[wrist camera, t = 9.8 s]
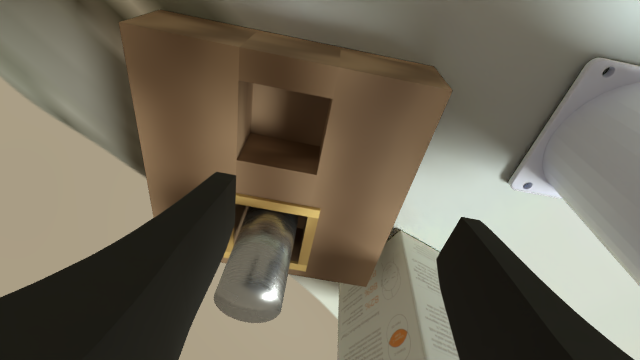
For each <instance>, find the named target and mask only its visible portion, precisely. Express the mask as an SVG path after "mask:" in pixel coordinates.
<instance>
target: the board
mask: <svg viewBox="0 0 640 360" xmlns="http://www.w3.org/2000/svg"><path fill="white" fill-rule="evenodd" d="M119 27H120V32H121V38H122V44H123V49H124V55H125V60H126V66H127V72H128V77H129V83H130V88H131V94H132V99H133V105H134V111H135V116H136V122H137V127H138V133H139V139H140V144H141V150H142V155H143V161H144V167H145V172H146V178H147V183H148V188H149V194H150V200H151V206H152V211H153V217H156V216H157V215H159V214H160V213H162V212H163V211H165V210H166V209H167V208H169V207H170V206H171V205H173V204H174V203H176V202H177V201H178V200H180V199H181V198H182V197H184V196H185V195H186V194H188V193H189V192H190V191H192V190H193V189H194V188H196V187H197V186H198V185H199V184H201V183H202V182H203V181H205V180H206V179H207V178H208V177H210V176H211V175H212V174H214V173H215V172H221V173H227V174H232V175H236V203H235V224H234V228H233V231H232V234H231V237H230V240H229V243H228V246H227V249H226V252H225V254H224V256H223V258H222V260H221V262H222V263H227V261H228V259H229V256H230V254H231V251H232V249H233V246H234V244H235V241H236V239H237V236H238V233H239V231H240V228H241V226H242V223H243V221H244V218H245V216H246V213H247V211H248V208H249V206H251V207H256V208H262V209H268V210H273V211H279V212H284V213H290V214H295V215H299V218H298V223H297V229H296V234H295V239H294V245H293V250H292V255H291V260H290V266H289V271H288V274H292V275H298V276H304V277H310V278H316V279H322V280H327V281H333V282H339V283H345V284H351V285H357V286H362V287H367V284H368V282H369V280H370V278H371V275H372V273H373V271H374V269H375V266H376V264H377V262H378V259H379V257H380V255H381V253H382V250H383V248H384V246H385V243H386V241H387V239H388V237H389V234H390V232H391V230H392V227H393V225H394V223H395V221H396V218H397V216H398V214H399V212H400V209H401V207H402V205H403V202H404V200H405V198H406V196H407V193H408V191H409V189H410V186H411V184H412V182H413V180H414V177H415V175H416V173H417V170H418V168H419V166H420V164H421V161H422V159H423V157H424V155H425V152H426V150H427V148H428V145H429V143H430V141H431V139H432V136H433V134H434V132H435V129H436V127H437V125H438V123H439V120H440V118H441V116H442V113H443V111H444V109H445V107H446V104H447V102H448V100H449V98H450V95H451V93H452V91H453V90H452V89H451V88H450V87H449V85H448V84H447V83H446V81H445V80H444V79H443V77H442V76H441V75H440V74H439V72H438V71H437V70H436V68H435V67H434V66H429V65H424V64H419V63H414V62H410V61H405V60H400V59H395V58H390V57H386V56H381V55H376V54H371V53H366V52H361V51H357V50H352V49H347V48H342V47H337V46H333V45H328V44H323V43H318V42H313V41H308V40H304V39H299V38H294V37H289V36H284V35H280V34H275V33H270V32H265V31H260V30H255V29H251V28H246V27H241V26H236V25H231V24H227V23H222V22H217V21H212V20H207V19H202V18H198V17H193V16H188V15H183V14H178V13H174V12H169V11H164V10H158V11H154V12H151V13H148V14H144V15H141V16H138V17H135V18H131V19H128V20H125V21H121V22H119Z"/></svg>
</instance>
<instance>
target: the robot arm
mask: <svg viewBox="0 0 640 360" xmlns="http://www.w3.org/2000/svg"><path fill="white" fill-rule="evenodd" d="M608 67H610V68H609V71H608V72H607V73H606V74H604V75H602V73H603V71H604V70H605V69H606V68H608ZM527 182H529V183H528V184H527V185H524V184H525V183H527ZM509 185H510V186H511V188H512V189H514V190H518V191H523V192H528V193H534V194H539V195H544V196H549V197H554V198H560V199H564V201H565V202H566V203H567V204H568V205H569V206H570V207H571V209H572V210H573V211H574V212H575V213H576V214H577V215H578V217H579V218H580V219H581V220H582V221H583V222H584V223H585V224H586V226H587V227H588V228H589V229H590V230H591V231H592V232H593V234H594V235H595V236H596V237H597V238H598V239H599V240H600V242H601V243H602V244H603V245H604V246H605V247H606V248H607V250H608V251H609V252H610V253H611V254H612V255H613V256H614V258H615V259H616V260H617V261H618V262H619V263H620V264H621V265H622V267H623V268H624V269H625V270H626V271H627V272H628V273H629V275H630V276H631V277H632V278H633V279H634V280H635V281H636V283H637V284H638V285H639V286H640V66H638V65H633V64H629V63H624V62H619V61H615V60H610V59H605V58H595V59H592V60H591V61H589V62H588V63H587V64H586V65H585V66H584V68H583V69H582V71H581V72H580V74H579V76H578V77H577V79H576V80H575V82H574V83H573V85H572V86H571V88H570V89H569V91H568V92H567V94H566V95H565V97H564V98H563V100H562V101H561V103H560V104H559V106H558V107H557V109H556V110H555V112H554V113H553V115H552V116H551V118H550V119H549V121H548V122H547V124H546V125H545V127H544V128H543V130H542V131H541V133H540V134H539V136H538V138H537V139H536V141H535V142H534V144H533V145H532V147H531V148H530V150H529V151H528V153H527V154H526V156H525V157H524V159H523V160H522V162H521V163H520V165H519V166H518V168H517V169H516V171H515V172H514V174H513V175H512V177H511V178H510V180H509ZM235 203H236V175H232V174H227V173H221V172H215V173H214V174H212V175H211V176H210V177H208V178H207V179H206V180H205V181H203V182H202V183H201V184H199V185H198V186H197V187H196V188H194V189H193V190H192V191H190V192H189V193H188V194H186V195H185V196H184V197H182V198H181V199H180V200H178V201H177V202H176V203H174V204H173V205H171V206H170V207H169V208H167V209H166V210H165V211H163V212H162V213H160V214H159V215H157V216H156V217H154V218H153V219H151V220H150V221H148V222H147V223H145V224H144V225H142V226H141V227H139V228H138V229H136V230H134V231H133V232H131V233H130V234H128V235H126V236H125V237H123V238H121V239H120V240H118V241H116V242H115V243H113V244H111V245H109V246H107V247H106V248H104V249H102V250H100V251H98V252H97V253H95V254H93V255H91V256H89V257H88V258H85V259H83V260H81V261H79V262H77V263H75V264H73V265H71V266H69V267H67V268H65V269H63V270H61V271H59V272H56V273H54V274H52V275H50V276H48V277H46V278H44V279H42V280H40V281H37V282H36V283H33V284H31V285H28V286H26V287H24V288H21V289H19V290H17V291H15V292H12V293H10V294H8V295H5V296H3V297H0V360H178V359H179V356H180V354H181V351H182V348H183V346H184V343H185V340H186V337H187V335H188V332H189V329H190V327H191V325H192V322H193V320H194V318H195V315H196V313H197V311H198V309H199V307H200V305H201V303H202V301H203V298H204V296H205V294H206V292H207V290H208V288H209V286H210V284H211V282H212V279H213V277H214V275H215V273H216V271H217V269H218V266H219V264H220V262H221V260H222V258H223V256H224V254H225V252H226V249H227V246H228V243H229V240H230V237H231V234H232V231H233V228H234V224H235ZM436 261H437V270H438V278H439V285H440V290H441V294H442V298H443V302H444V306H445V309H446V313H447V317H448V320H449V324H450V328H451V331H452V335H453V338H454V342H455V346H456V349H457V353H458V356H459V360H634V359H633V358H631V357H630V356H629V355H627V354H626V353H625V352H623V351H622V350H621V349H620V348H618V347H617V346H616V345H615V344H613V343H612V342H611V341H610V340H608V339H607V338H606V337H605V336H604V335H602V334H601V333H600V332H599V331H598V330H596V329H595V328H594V327H593V326H591V325H590V324H589V323H588V322H587V321H585V320H584V319H583V318H582V317H581V316H580V315H579V314H577V313H576V312H575V311H574V310H573V309H572V308H571V307H570V306H568V305H567V304H566V303H565V302H564V301H563V300H562V299H561V298H560V297H559V296H558V295H556V294H555V293H554V292H553V291H552V290H551V289H550V288H549V287H548V286H547V285H546V284H545V283H544V282H543V281H542V280H541V279H539V278H538V277H537V276H536V275H535V274H534V273H533V272H532V271H531V270H530V269H529V268H528V267H527V266H526V265H525V264H524V263H523V262H522V261H521V260H520V259H519V258H518V257H517V256H516V255H515V254H514V253H513V252H512V251H511V250H510V249H509V248H508V247H507V246H506V245H505V244H504V243H503V242H502V241H501V240H500V239H499V238H498V237H497V236H496V235H495V234H494V233H493V232H492V231H491V230H490V229H489V228H488V227H487V226H486V225H485V224H484V223H482V222H481V221H480V220H475V219H470V218H465V217H461V218H460V220H459V222H458V223H457V225H456V227H455V228H454V230H453V232H452V233H451V235H450V237H449V238H448V240H447V242H446V243H445V245H444V247H443V248H442V250H441V252H440V253H439V255H438V257H437V258H436Z"/></svg>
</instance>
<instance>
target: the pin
mask: <svg viewBox="0 0 640 360" xmlns="http://www.w3.org/2000/svg"><path fill="white" fill-rule="evenodd" d="M298 218H299V215H295V214H290V213H284V212H279V211H273V210H268V209H262V208H256V207H251V206H249V208H248V211H247V213H246V216H245V218H244V221H243V223H242V226H241V228H240V231H239V233H238V236H237V239H236V241H235V244H234V246H233V249H232V251H231V254H230V256H229V259H228V261H227V264H226V266H225V269H224V272H223V274H222V277H221V279H220V282H219V284H218V287H217V289H216V292H215V295H214V301H215V304H216V306H217V307H218V308H219V309H220V310H221V311H222V312H223V313H225V314H226V315H228V316H230V317H232V318H234V319H237V320H240V321H244V322H251V323H261V322H267V321H270V320H272V319H274V318H276V317H277V316H278V315H279V314H280V312H281V308H282V302H283V297H284V292H285V286H286V281H287V276H288V271H289V266H290V260H291V255H292V250H293V245H294V239H295V234H296V229H297V223H298Z"/></svg>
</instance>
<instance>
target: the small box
mask: <svg viewBox="0 0 640 360" xmlns="http://www.w3.org/2000/svg"><path fill="white" fill-rule="evenodd" d="M439 253H440V252H438V251H436V250H434V249H433V248H431V247H429V246H427V245H425V244H424V243H422V242H420V241H418V240H417V239H415V238H413V237H411V236H410V235H408V234H406V233H404V232H403V231H399V232H398V233H396V234H395V235H394V236H393V237H392V238H391V239H390V240H389V241H387V242H386V243H385V246H384V248H383V250H382V253H381V255H380V257H379V259H378V262H377V264H376V266H375V269H374V271H373V273H372V275H371V278H370V280H369V282H368V284H367V287H362V286H357V285H351V284H345V283H340V284H339V314H338V359H337V360H459V356H458V353H457V349H456V346H455V342H454V338H453V335H452V331H451V328H450V324H449V320H448V317H447V313H446V309H445V306H444V302H443V298H442V294H441V290H440V285H439V278H438V270H437V261H436V258H437V257H438V255H439Z"/></svg>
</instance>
